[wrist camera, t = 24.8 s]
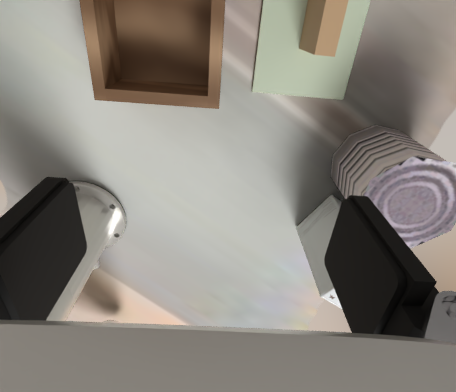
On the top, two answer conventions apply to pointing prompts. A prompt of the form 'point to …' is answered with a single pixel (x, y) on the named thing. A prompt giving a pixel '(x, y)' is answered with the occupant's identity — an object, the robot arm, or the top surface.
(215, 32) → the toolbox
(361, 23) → the lid
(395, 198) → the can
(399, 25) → the top surface
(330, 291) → the skincare box
